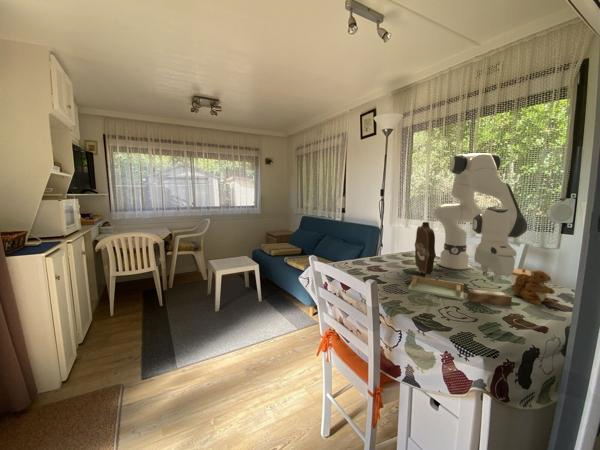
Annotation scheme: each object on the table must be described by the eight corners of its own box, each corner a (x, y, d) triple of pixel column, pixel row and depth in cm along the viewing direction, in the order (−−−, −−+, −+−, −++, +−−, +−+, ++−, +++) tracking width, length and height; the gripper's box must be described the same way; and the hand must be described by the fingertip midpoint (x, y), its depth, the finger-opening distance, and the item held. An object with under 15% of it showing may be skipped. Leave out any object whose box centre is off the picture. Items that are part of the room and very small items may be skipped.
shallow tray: (411, 282, 127) (412, 273, 127) (463, 291, 116) (464, 281, 115) (408, 289, 118) (408, 279, 118) (463, 300, 106) (464, 289, 106)
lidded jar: (528, 293, 115) (530, 273, 113) (502, 285, 124) (504, 266, 123) (541, 289, 118) (544, 270, 117) (515, 282, 128) (517, 264, 127)
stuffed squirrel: (540, 306, 100) (544, 275, 99) (503, 293, 114) (506, 265, 112) (557, 304, 103) (561, 273, 101) (520, 291, 117) (523, 264, 115)
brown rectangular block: (471, 302, 105) (472, 292, 105) (467, 297, 110) (467, 288, 110) (510, 306, 101) (511, 296, 101) (504, 301, 106) (505, 292, 106)
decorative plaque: (434, 285, 124) (438, 225, 120) (427, 284, 125) (431, 225, 121) (418, 268, 153) (421, 219, 149) (413, 267, 154) (415, 219, 150)
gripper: (471, 241, 113) (468, 270, 115) (501, 252, 93) (497, 287, 95) (486, 241, 112) (483, 271, 114) (519, 252, 92) (515, 288, 94)
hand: (490, 278), depth 105 cm, fingers open, 5 cm apart
